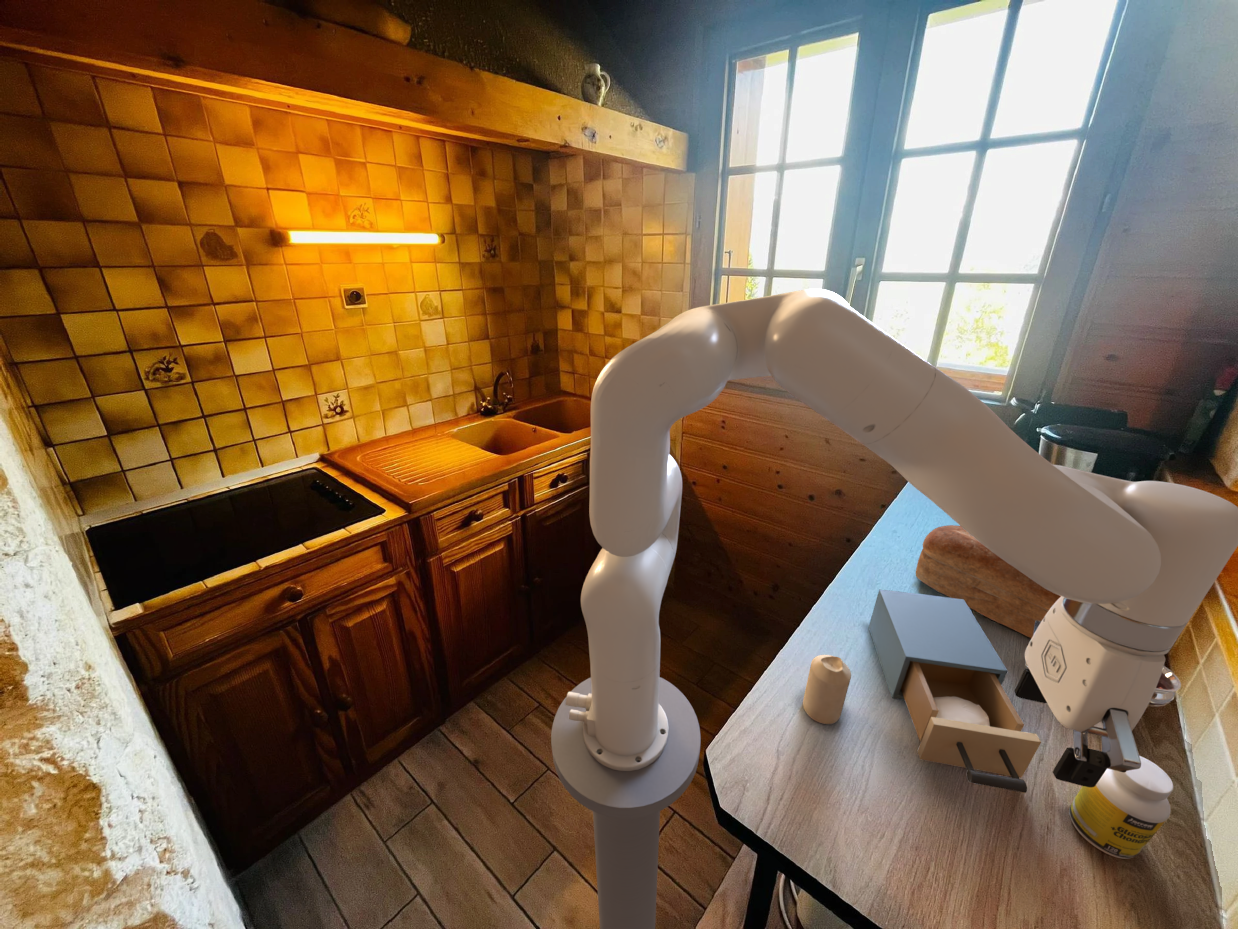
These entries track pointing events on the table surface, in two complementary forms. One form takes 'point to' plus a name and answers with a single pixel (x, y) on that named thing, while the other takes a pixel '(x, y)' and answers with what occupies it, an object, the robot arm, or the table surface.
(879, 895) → the table surface
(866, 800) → the table surface
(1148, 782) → the pill bottle
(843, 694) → the candle
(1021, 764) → the drawer
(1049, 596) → the bread
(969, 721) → the garlic
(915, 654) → the cabinet
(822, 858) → the table surface
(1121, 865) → the table surface
